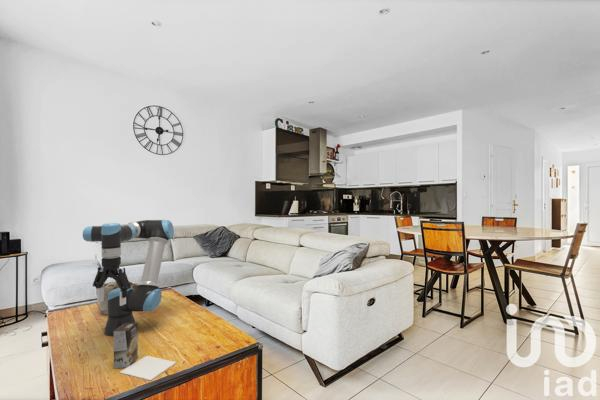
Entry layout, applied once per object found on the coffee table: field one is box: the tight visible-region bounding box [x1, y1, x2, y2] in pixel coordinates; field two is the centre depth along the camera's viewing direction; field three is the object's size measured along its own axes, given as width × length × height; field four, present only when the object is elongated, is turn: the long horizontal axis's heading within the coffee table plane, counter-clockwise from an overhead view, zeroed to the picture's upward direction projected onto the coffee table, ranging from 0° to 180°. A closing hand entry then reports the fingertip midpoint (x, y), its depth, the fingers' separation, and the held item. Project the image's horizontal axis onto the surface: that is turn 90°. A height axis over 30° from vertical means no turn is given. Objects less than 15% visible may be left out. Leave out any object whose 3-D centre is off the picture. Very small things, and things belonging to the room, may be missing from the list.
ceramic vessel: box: [98, 281, 139, 316], centre depth 198 cm, size 23×24×25 cm
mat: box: [119, 355, 177, 382], centre depth 129 cm, size 17×14×1 cm
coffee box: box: [113, 321, 139, 369], centre depth 133 cm, size 9×6×16 cm
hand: (111, 303), depth 138 cm, fingers open, 13 cm apart
